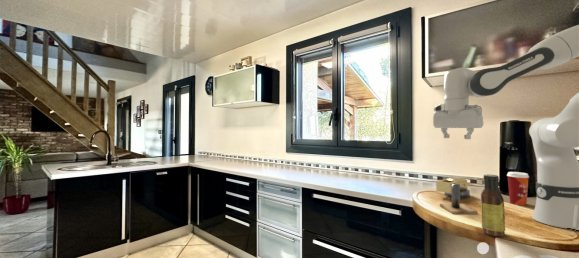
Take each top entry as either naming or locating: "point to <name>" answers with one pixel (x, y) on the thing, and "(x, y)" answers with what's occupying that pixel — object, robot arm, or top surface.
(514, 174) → the paper cup
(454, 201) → the steel cylinder
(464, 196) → the chuck base
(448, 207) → the wooden mat
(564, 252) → the top surface
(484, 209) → the sauce bottle
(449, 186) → the chuck collar
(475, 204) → the top surface
